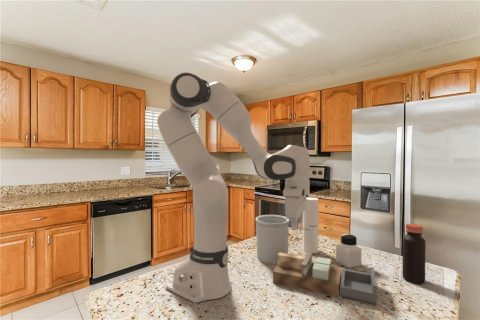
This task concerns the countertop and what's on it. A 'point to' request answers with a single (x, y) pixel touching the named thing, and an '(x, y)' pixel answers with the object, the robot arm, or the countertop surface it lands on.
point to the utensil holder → (271, 237)
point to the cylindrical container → (310, 226)
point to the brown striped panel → (309, 280)
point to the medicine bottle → (348, 251)
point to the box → (359, 286)
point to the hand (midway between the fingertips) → (297, 226)
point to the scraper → (295, 261)
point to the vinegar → (414, 254)
